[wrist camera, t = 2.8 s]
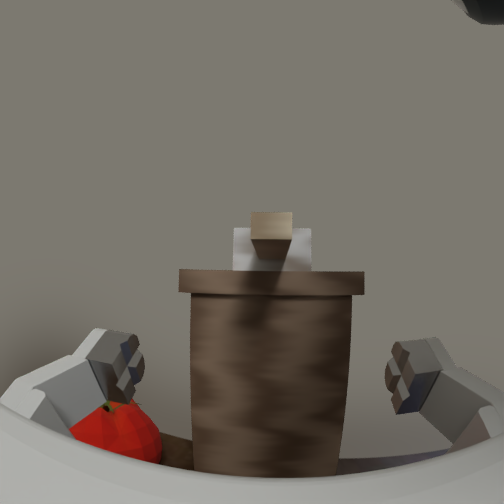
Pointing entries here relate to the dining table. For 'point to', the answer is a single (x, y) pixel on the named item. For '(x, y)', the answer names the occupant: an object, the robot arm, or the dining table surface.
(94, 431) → the tomato
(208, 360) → the walnut stand
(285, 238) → the mallet
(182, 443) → the dining table surface
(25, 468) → the robot arm
